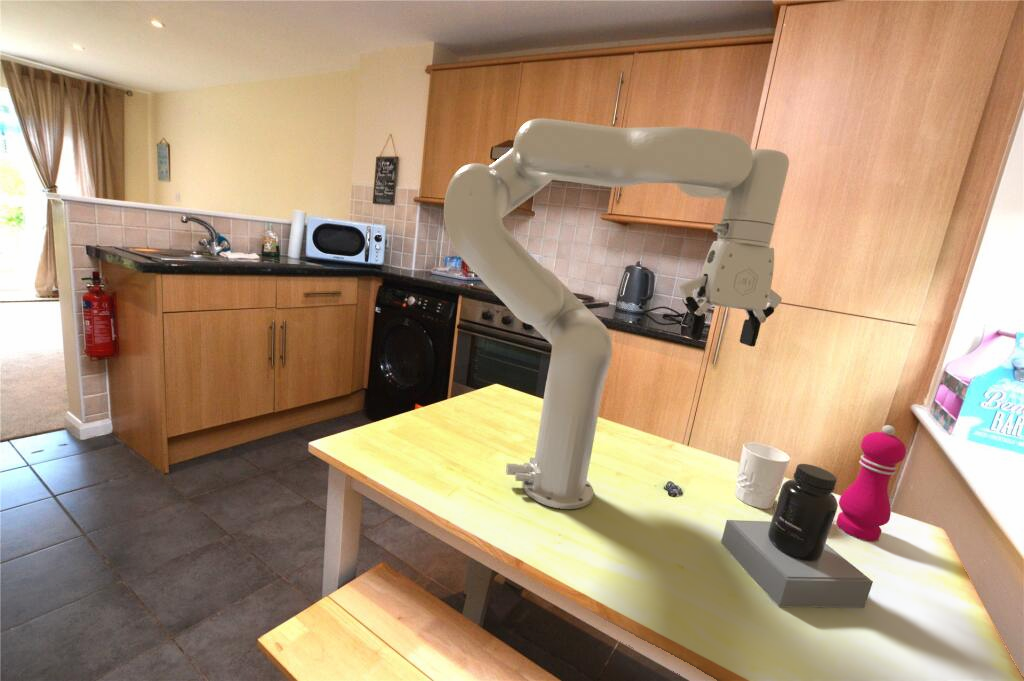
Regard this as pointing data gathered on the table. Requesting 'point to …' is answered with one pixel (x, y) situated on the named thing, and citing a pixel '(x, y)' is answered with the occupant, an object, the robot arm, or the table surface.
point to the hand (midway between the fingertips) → (720, 341)
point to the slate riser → (795, 570)
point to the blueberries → (672, 489)
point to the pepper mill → (871, 486)
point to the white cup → (760, 474)
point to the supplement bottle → (804, 513)
